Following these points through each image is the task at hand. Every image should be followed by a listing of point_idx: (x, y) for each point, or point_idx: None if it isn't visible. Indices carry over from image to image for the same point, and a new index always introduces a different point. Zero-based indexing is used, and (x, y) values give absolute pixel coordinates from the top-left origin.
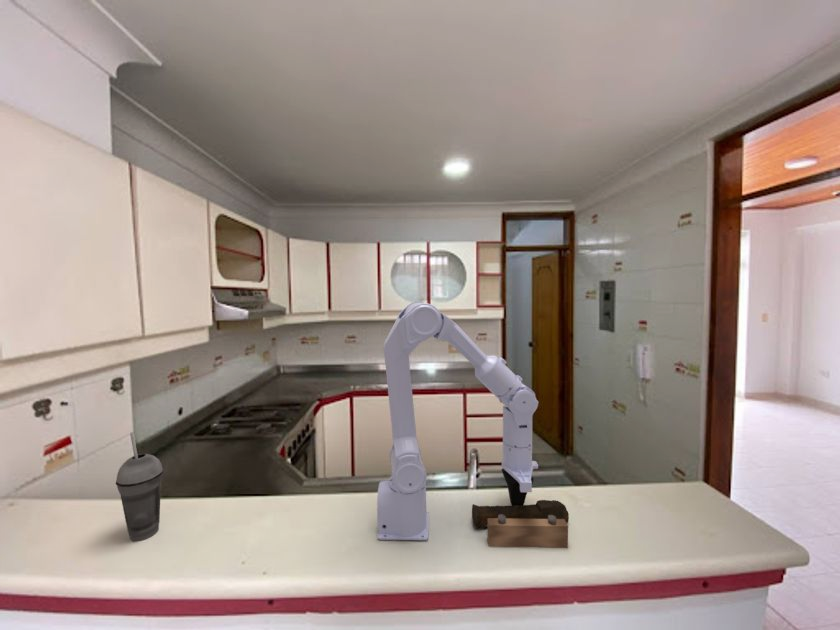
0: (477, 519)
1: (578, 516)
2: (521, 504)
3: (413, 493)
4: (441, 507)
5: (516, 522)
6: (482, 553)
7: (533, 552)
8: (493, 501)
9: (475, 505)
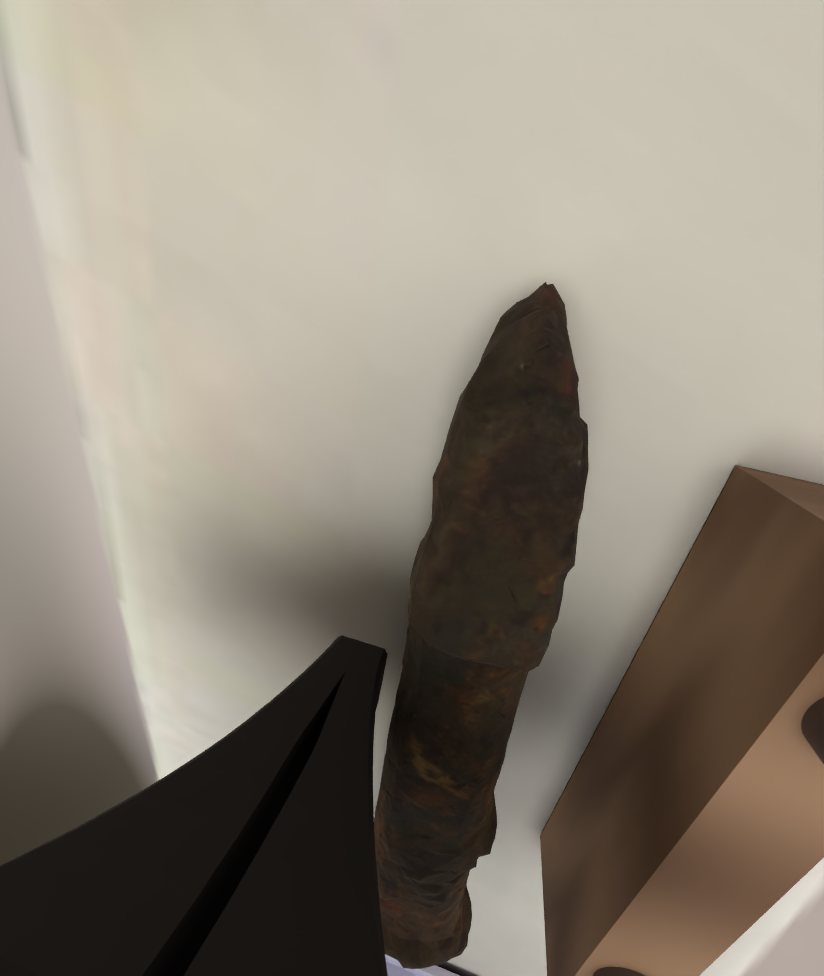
0: (468, 926)
1: (473, 107)
2: (378, 687)
3: None
4: None
5: (680, 936)
6: None
7: None
8: (237, 666)
9: None
